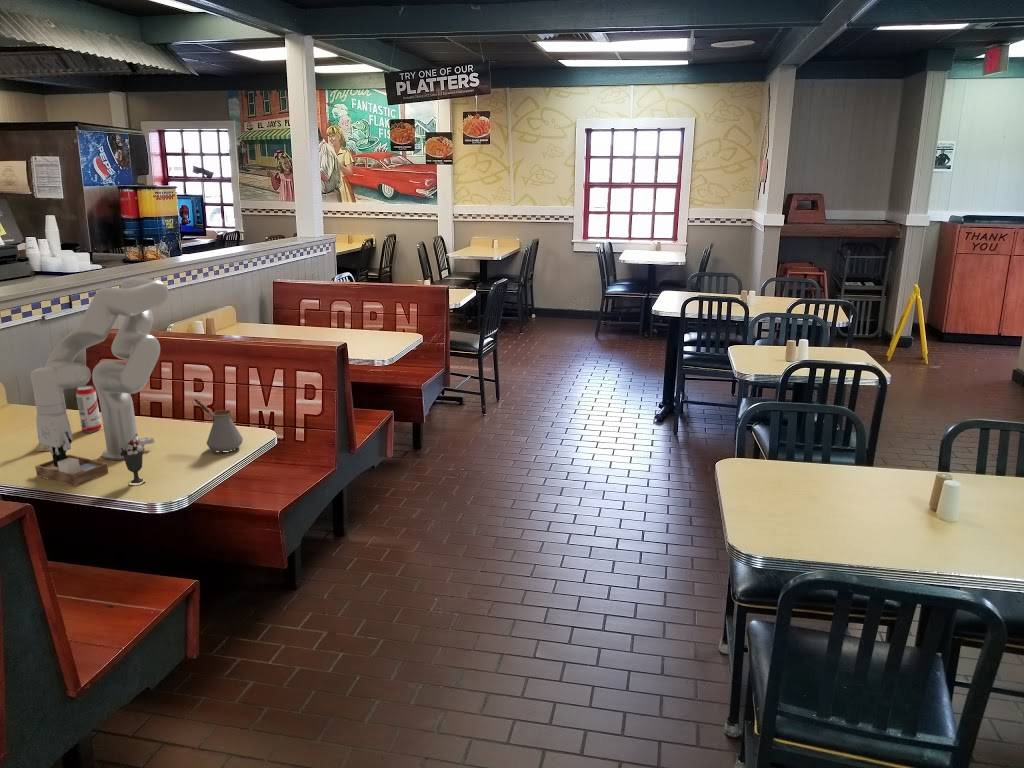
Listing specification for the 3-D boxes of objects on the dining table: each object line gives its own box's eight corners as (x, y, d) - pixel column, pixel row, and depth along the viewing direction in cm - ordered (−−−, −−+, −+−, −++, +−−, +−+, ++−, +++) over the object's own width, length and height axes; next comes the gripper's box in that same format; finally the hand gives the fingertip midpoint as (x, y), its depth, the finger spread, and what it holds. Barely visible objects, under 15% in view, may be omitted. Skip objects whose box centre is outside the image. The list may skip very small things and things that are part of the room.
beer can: (78, 432, 274) (70, 389, 270) (91, 426, 280) (85, 384, 276) (92, 433, 273) (85, 390, 268) (105, 428, 278) (99, 386, 274)
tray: (37, 475, 237) (35, 466, 236) (70, 463, 246) (68, 454, 245) (75, 486, 229) (74, 476, 228) (108, 473, 239) (106, 463, 238)
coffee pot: (250, 447, 260) (246, 405, 256) (220, 457, 251) (216, 414, 247) (213, 434, 272) (209, 394, 268) (183, 444, 263) (178, 402, 259)
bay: (75, 474, 237) (74, 468, 237) (89, 469, 241) (88, 463, 241) (86, 477, 235) (85, 471, 235) (99, 472, 239) (98, 465, 239)
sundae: (152, 477, 235) (146, 431, 231) (143, 486, 229) (136, 439, 224) (131, 478, 235) (124, 432, 231) (121, 487, 228) (113, 440, 224)
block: (59, 474, 232) (57, 461, 231) (71, 469, 236) (69, 457, 235) (68, 476, 231) (66, 464, 230) (80, 471, 234) (78, 459, 233)
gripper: (23, 408, 229) (33, 465, 234) (55, 415, 223) (65, 474, 228) (47, 401, 236) (56, 457, 241) (79, 408, 229) (88, 465, 234)
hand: (60, 465), depth 234 cm, fingers closed
